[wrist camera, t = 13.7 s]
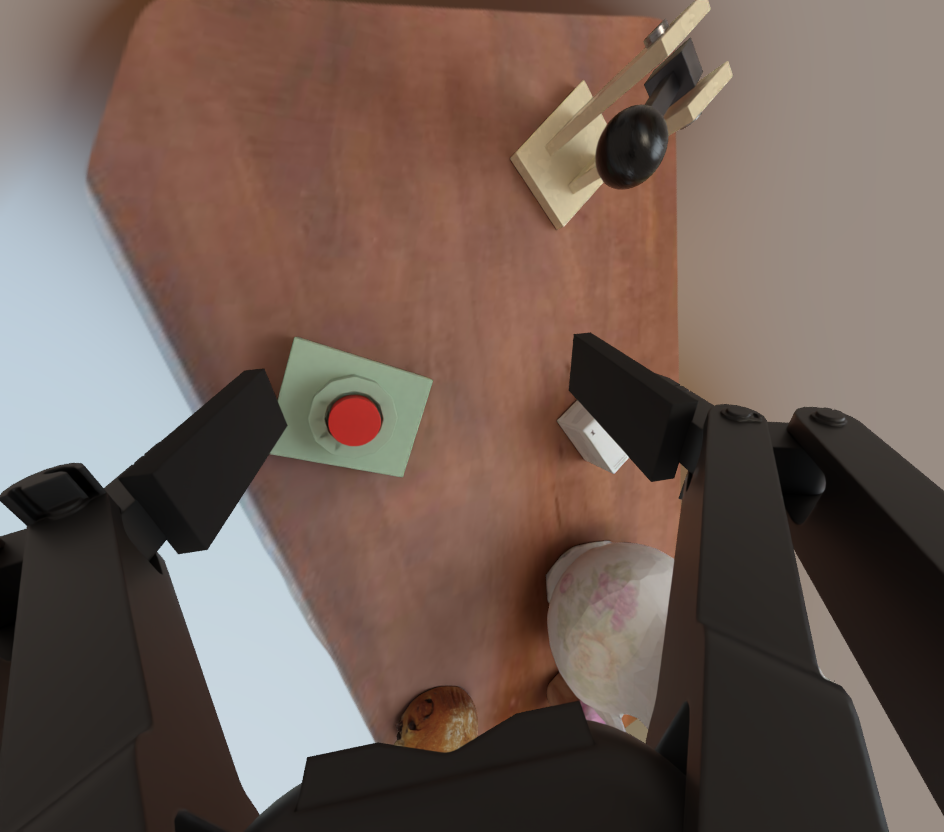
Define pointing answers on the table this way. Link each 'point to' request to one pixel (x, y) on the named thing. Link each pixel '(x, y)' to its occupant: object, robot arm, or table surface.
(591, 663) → the ceramic pitcher
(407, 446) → the button block
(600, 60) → the table surface
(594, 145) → the cream lever bracket
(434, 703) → the bread roll
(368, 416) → the button
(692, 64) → the lever
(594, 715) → the cupcake
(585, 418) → the small box
